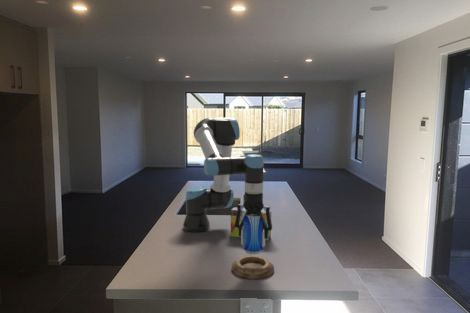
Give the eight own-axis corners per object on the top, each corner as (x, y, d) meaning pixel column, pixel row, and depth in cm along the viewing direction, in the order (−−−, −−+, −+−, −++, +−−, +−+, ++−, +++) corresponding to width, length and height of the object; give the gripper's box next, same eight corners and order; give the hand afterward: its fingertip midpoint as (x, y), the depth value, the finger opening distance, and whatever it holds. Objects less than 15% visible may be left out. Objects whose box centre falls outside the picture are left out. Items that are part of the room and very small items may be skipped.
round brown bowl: (226, 276, 144) (226, 268, 143) (237, 258, 161) (237, 251, 160) (270, 282, 139) (270, 274, 139) (276, 263, 156) (276, 256, 156)
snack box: (271, 238, 187) (271, 210, 185) (268, 241, 182) (269, 213, 180) (233, 233, 194) (233, 206, 192) (230, 236, 189) (230, 209, 186)
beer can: (242, 247, 153) (242, 211, 150) (261, 246, 153) (261, 211, 151) (244, 255, 144) (244, 217, 142) (264, 254, 145) (265, 217, 143)
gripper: (226, 192, 145) (226, 245, 147) (278, 195, 139) (276, 250, 142) (231, 188, 152) (231, 239, 155) (280, 191, 146) (279, 243, 149)
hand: (253, 244), depth 148 cm, fingers closed on beer can, 8 cm apart
